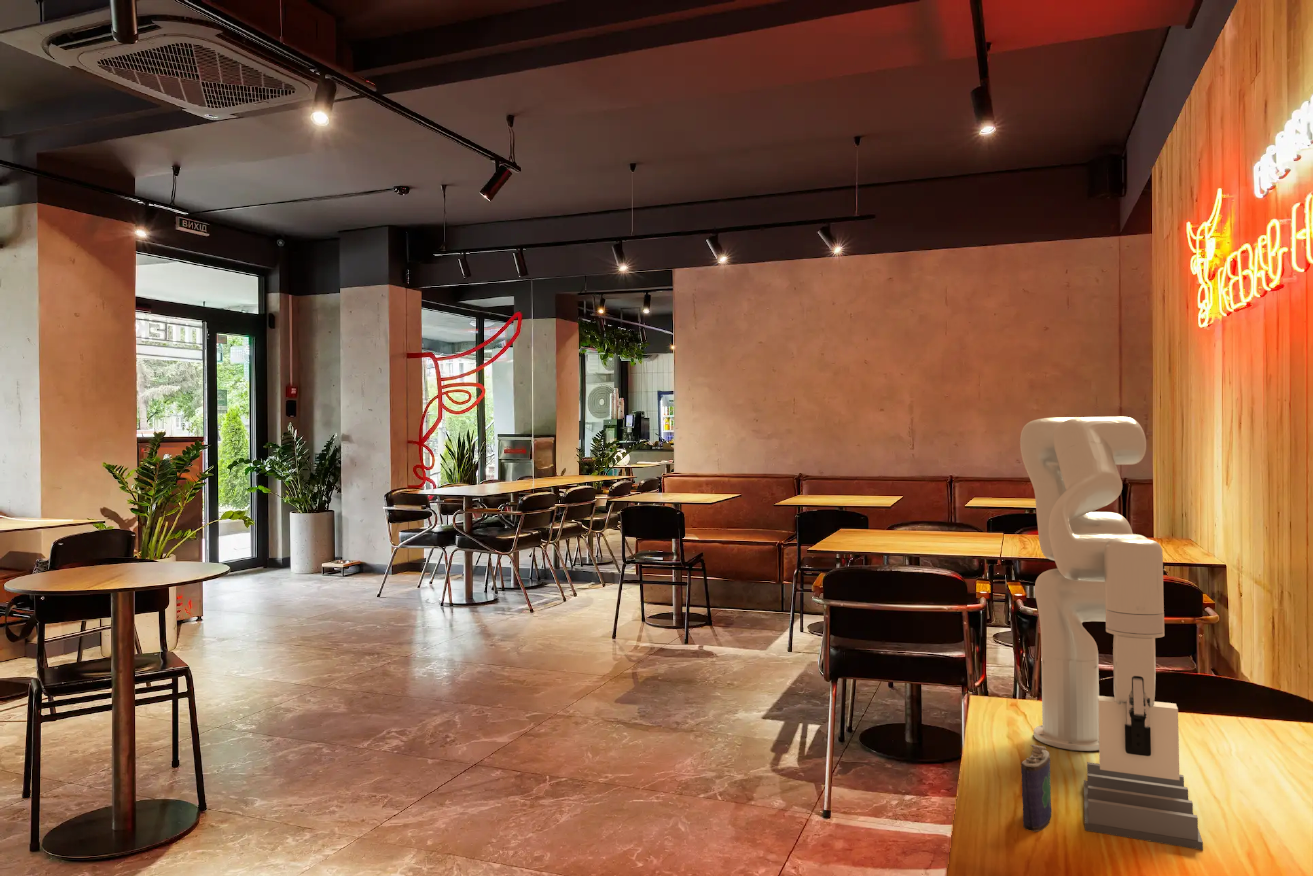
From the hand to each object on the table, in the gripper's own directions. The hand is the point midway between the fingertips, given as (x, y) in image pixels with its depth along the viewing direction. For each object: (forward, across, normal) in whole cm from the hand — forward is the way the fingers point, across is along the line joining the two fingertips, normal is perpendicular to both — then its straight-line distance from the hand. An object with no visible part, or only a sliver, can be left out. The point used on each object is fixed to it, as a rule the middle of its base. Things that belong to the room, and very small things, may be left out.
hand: (1137, 749), depth 125 cm
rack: (+10, 0, 0) cm, 10 cm away
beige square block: (+3, 0, 0) cm, 3 cm away
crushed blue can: (+10, +8, -13) cm, 18 cm away
